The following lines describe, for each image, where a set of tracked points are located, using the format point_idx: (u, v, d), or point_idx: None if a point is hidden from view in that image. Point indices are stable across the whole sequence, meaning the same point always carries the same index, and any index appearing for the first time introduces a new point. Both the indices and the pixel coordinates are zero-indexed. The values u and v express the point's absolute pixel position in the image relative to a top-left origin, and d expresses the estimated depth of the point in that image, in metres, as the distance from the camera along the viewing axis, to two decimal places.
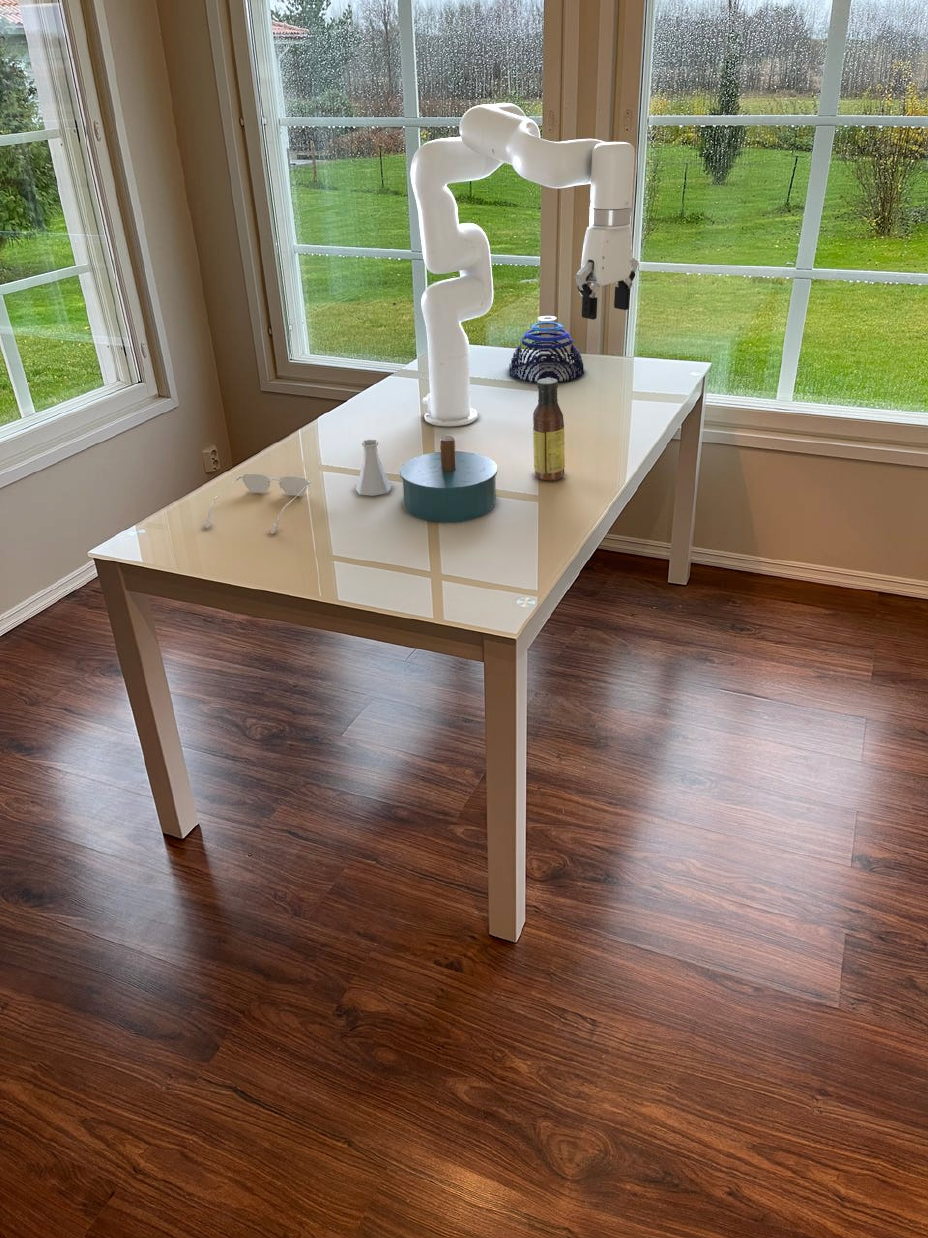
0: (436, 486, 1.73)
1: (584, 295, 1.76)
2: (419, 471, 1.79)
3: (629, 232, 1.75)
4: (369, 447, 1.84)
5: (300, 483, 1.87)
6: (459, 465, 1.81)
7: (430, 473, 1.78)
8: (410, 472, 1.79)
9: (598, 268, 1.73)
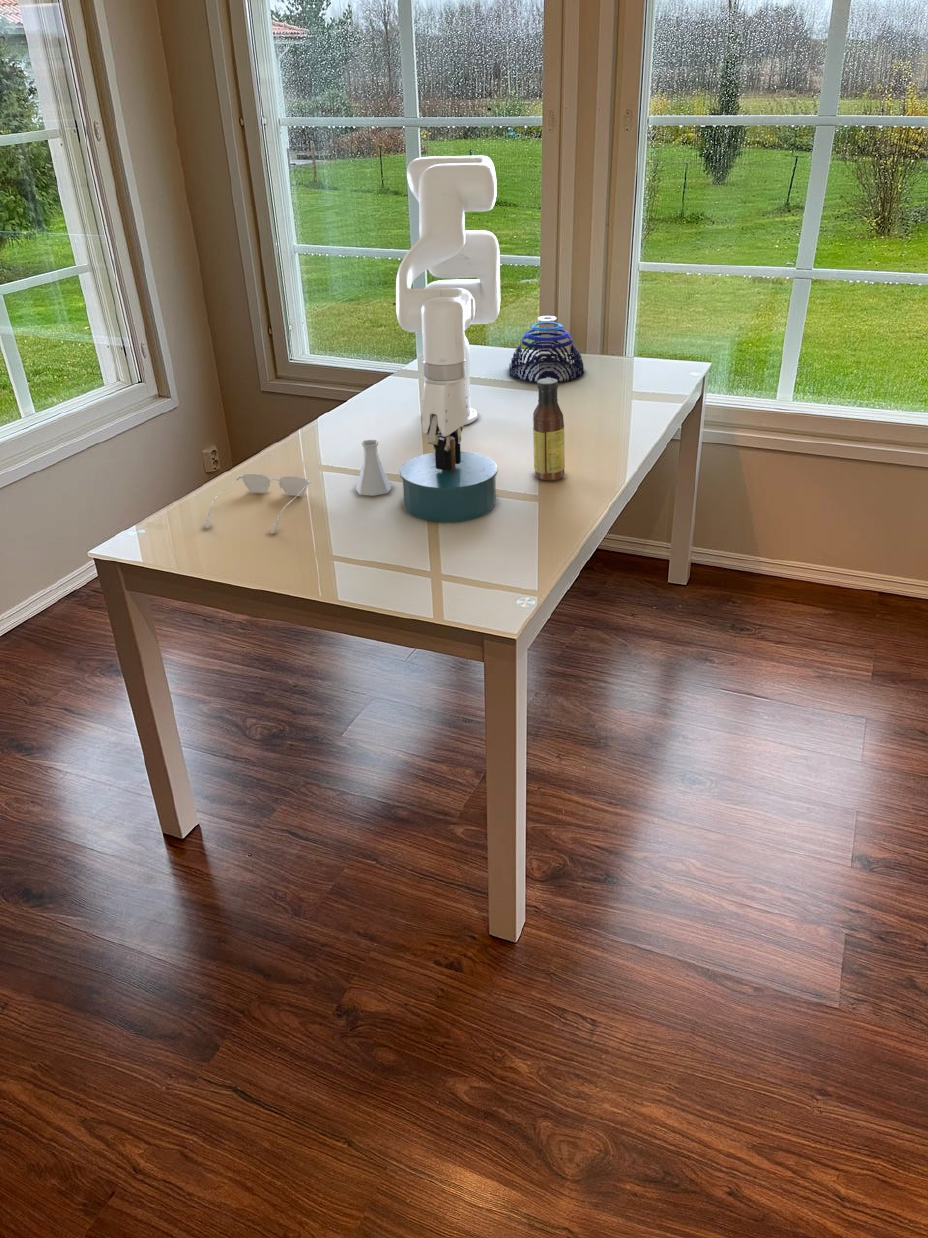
0: (436, 486, 1.73)
1: (438, 449, 1.75)
2: (419, 471, 1.79)
3: (464, 381, 1.73)
4: (369, 447, 1.84)
5: (300, 483, 1.87)
6: (459, 465, 1.81)
7: (430, 473, 1.78)
8: (410, 472, 1.79)
9: (442, 422, 1.70)
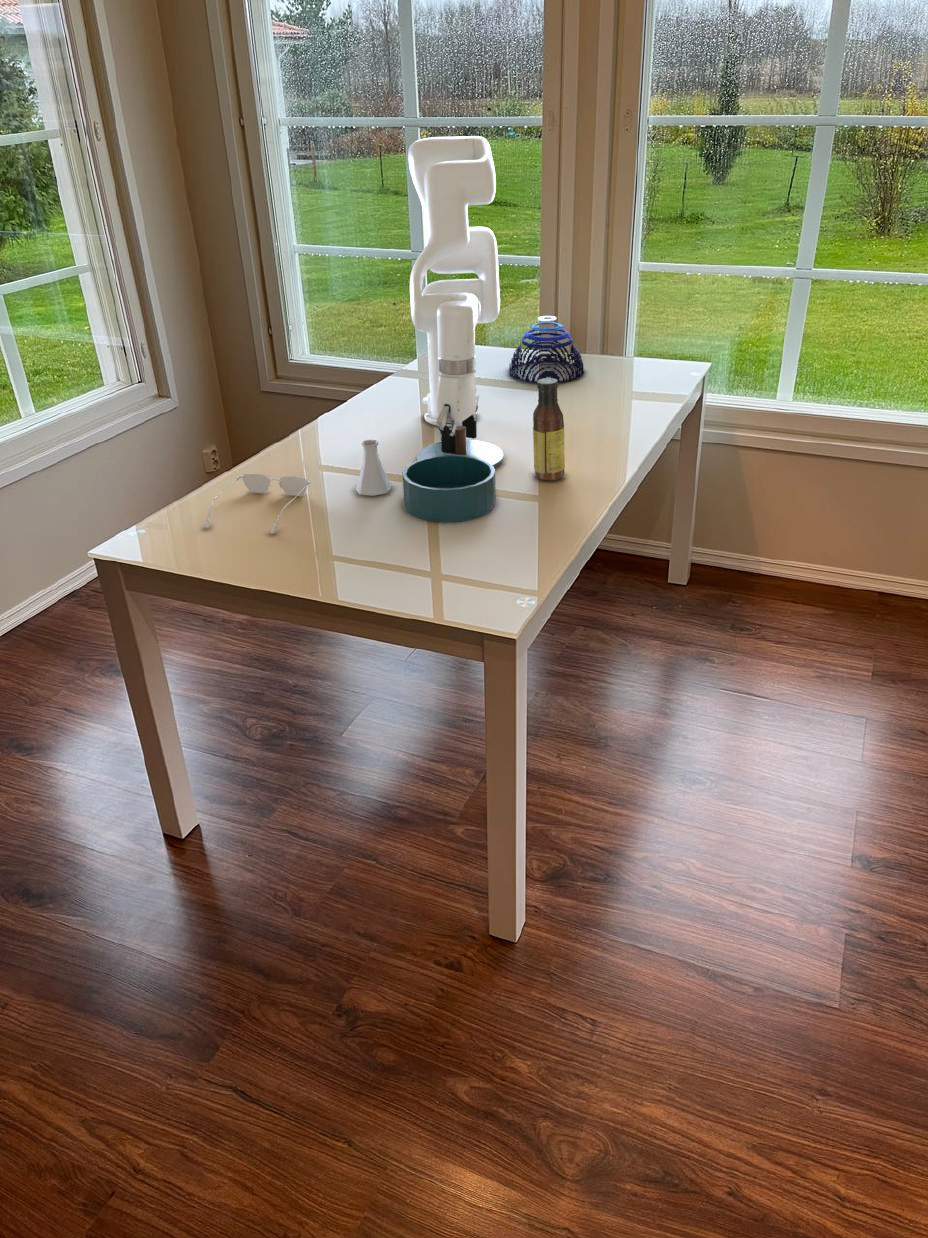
0: None
1: (444, 434, 1.95)
2: None
3: (473, 375, 1.96)
4: (368, 447, 1.84)
5: (300, 483, 1.87)
6: (469, 452, 2.04)
7: None
8: None
9: (455, 411, 1.93)
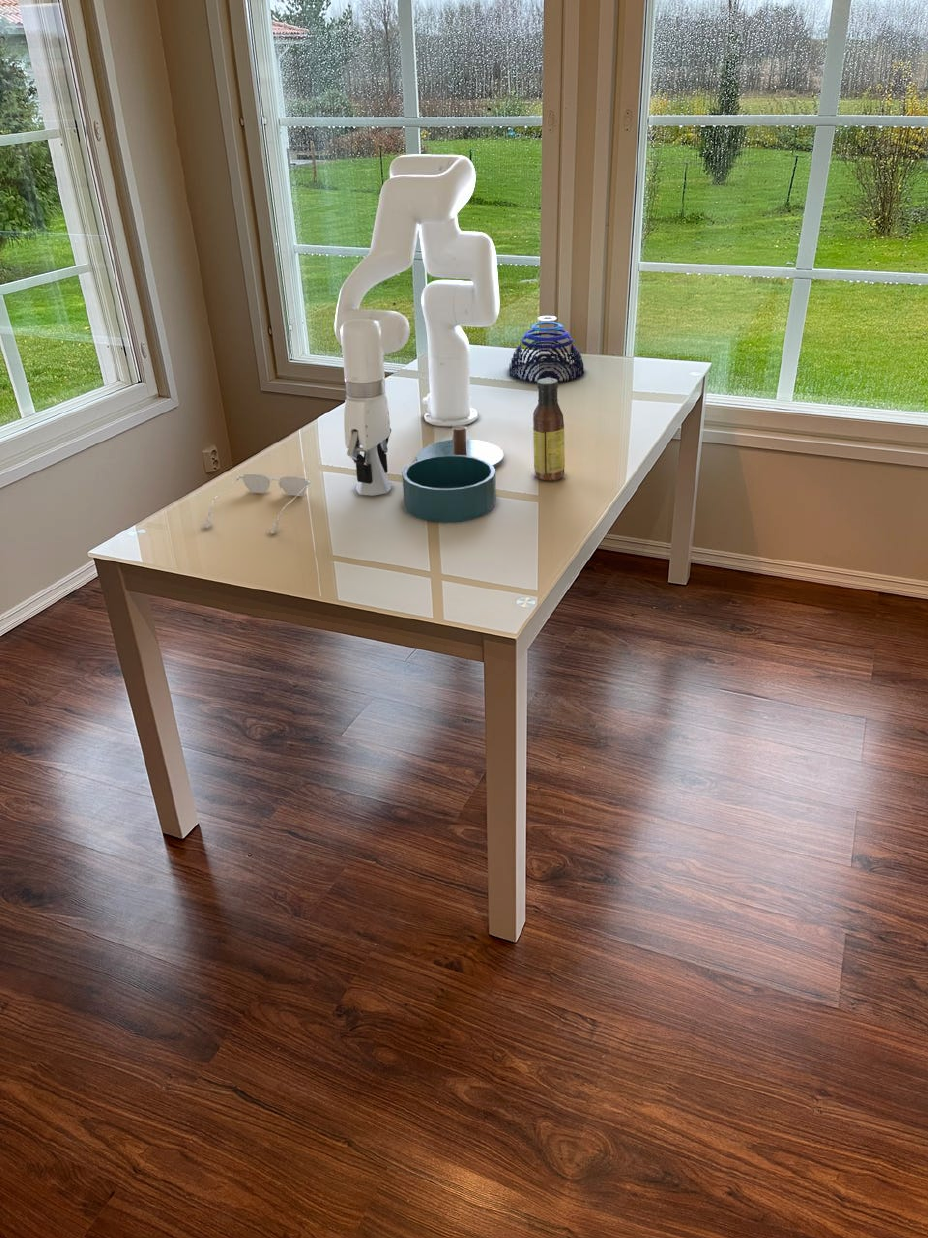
0: None
1: (358, 463, 1.84)
2: None
3: (384, 397, 1.83)
4: None
5: (300, 483, 1.87)
6: (469, 452, 2.04)
7: None
8: None
9: (363, 436, 1.79)
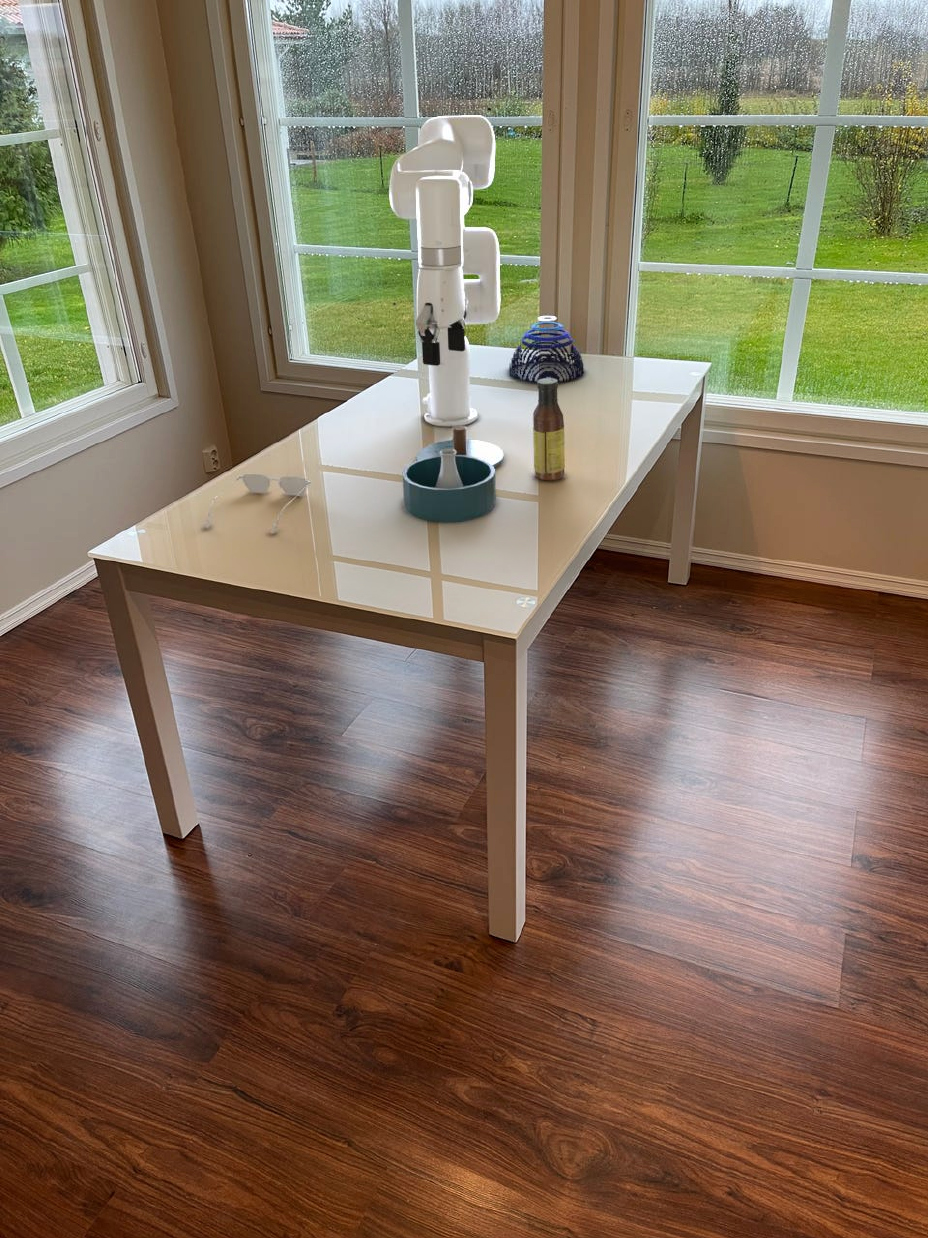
0: None
1: (425, 341, 1.62)
2: None
3: (461, 270, 1.63)
4: (447, 457, 1.78)
5: (300, 483, 1.87)
6: (469, 452, 2.04)
7: None
8: None
9: (438, 311, 1.60)
